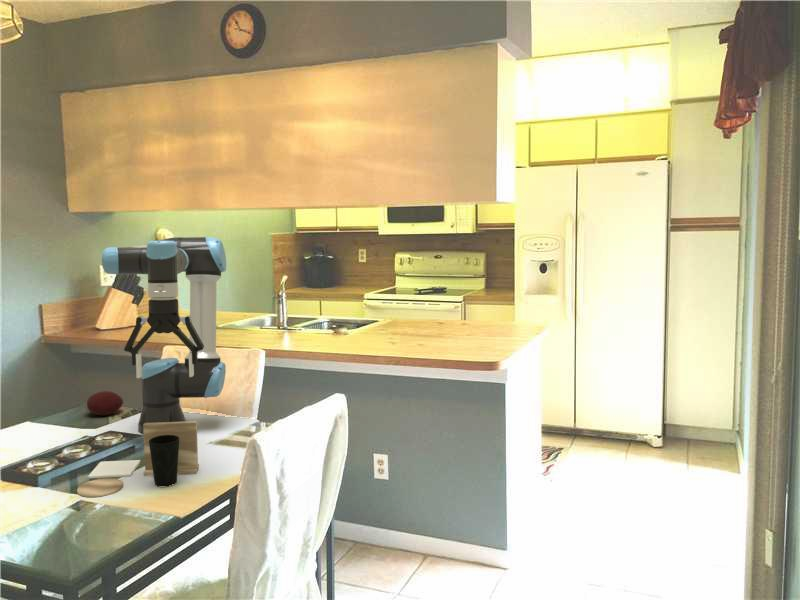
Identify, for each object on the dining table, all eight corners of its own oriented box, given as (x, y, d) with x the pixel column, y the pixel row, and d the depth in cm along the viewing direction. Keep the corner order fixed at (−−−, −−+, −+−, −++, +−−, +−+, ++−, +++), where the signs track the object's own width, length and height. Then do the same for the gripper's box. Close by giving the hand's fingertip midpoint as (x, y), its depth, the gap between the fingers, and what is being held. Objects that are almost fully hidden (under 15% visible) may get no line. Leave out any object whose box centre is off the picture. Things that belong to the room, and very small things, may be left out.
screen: (148, 469, 185) (146, 421, 183) (199, 466, 187) (197, 419, 185) (143, 475, 180) (141, 426, 178) (196, 473, 182) (194, 424, 180)
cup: (171, 489, 171) (169, 445, 170) (144, 487, 173) (142, 443, 171) (186, 478, 179) (184, 435, 177) (160, 476, 180) (159, 433, 179)
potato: (80, 417, 232) (79, 394, 231) (99, 409, 243) (98, 387, 242) (110, 419, 230) (108, 396, 229) (128, 410, 241) (127, 388, 240)
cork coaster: (85, 481, 176) (85, 479, 176) (128, 479, 178) (128, 477, 178) (71, 498, 165) (70, 496, 165) (116, 496, 167) (116, 493, 167)
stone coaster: (100, 463, 189) (100, 461, 189) (140, 461, 190) (140, 459, 190) (88, 478, 178) (87, 476, 178) (130, 476, 180) (130, 474, 180)
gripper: (110, 300, 170) (113, 380, 172) (209, 299, 173) (211, 378, 175) (118, 297, 177) (121, 374, 179) (213, 296, 180) (215, 372, 182)
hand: (165, 376), depth 177 cm, fingers open, 13 cm apart
